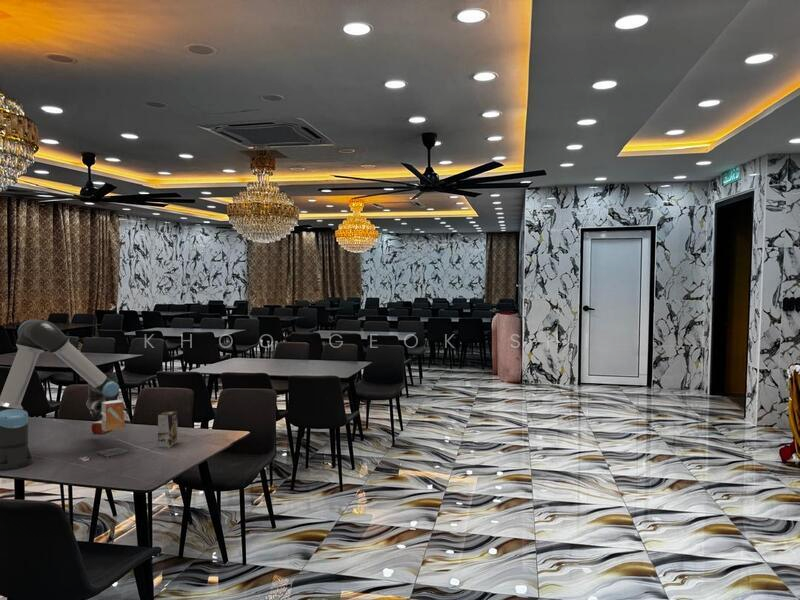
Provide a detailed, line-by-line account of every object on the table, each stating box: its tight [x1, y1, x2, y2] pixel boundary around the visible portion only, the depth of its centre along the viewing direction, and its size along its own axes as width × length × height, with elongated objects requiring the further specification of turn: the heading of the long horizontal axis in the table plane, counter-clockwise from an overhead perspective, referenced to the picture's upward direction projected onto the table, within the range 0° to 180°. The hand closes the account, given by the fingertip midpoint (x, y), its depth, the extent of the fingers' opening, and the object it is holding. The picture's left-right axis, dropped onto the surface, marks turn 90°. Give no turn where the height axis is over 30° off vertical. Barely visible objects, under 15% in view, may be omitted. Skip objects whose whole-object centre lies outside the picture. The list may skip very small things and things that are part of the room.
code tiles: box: [78, 456, 90, 462], centre depth 256 cm, size 4×6×1 cm, turn 52°
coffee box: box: [157, 410, 178, 449], centre depth 280 cm, size 9×6×16 cm
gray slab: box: [96, 446, 130, 458], centre depth 266 cm, size 10×10×1 cm
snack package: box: [90, 418, 126, 435], centre depth 309 cm, size 21×7×7 cm, turn 174°
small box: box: [101, 399, 125, 432], centre depth 266 cm, size 8×6×13 cm
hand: (115, 416), depth 262 cm, fingers closed on small box, 8 cm apart
